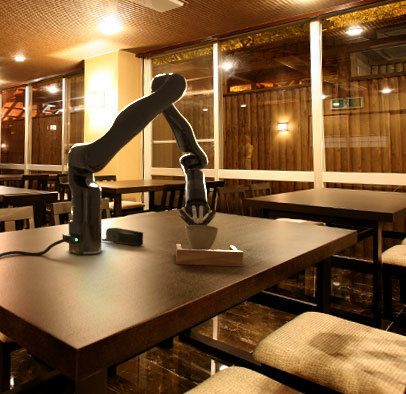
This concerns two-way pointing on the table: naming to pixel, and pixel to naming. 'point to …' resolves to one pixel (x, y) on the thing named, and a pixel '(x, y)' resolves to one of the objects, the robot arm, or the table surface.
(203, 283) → the table surface
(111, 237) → the black rounded block
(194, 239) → the flower pot
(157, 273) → the table surface
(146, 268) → the table surface
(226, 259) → the low wooden tray
